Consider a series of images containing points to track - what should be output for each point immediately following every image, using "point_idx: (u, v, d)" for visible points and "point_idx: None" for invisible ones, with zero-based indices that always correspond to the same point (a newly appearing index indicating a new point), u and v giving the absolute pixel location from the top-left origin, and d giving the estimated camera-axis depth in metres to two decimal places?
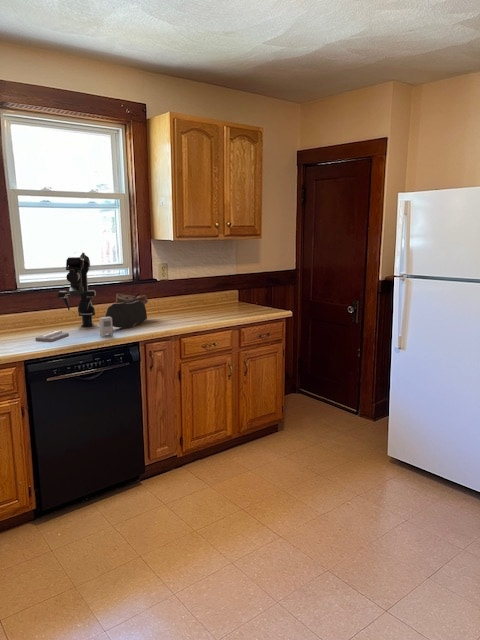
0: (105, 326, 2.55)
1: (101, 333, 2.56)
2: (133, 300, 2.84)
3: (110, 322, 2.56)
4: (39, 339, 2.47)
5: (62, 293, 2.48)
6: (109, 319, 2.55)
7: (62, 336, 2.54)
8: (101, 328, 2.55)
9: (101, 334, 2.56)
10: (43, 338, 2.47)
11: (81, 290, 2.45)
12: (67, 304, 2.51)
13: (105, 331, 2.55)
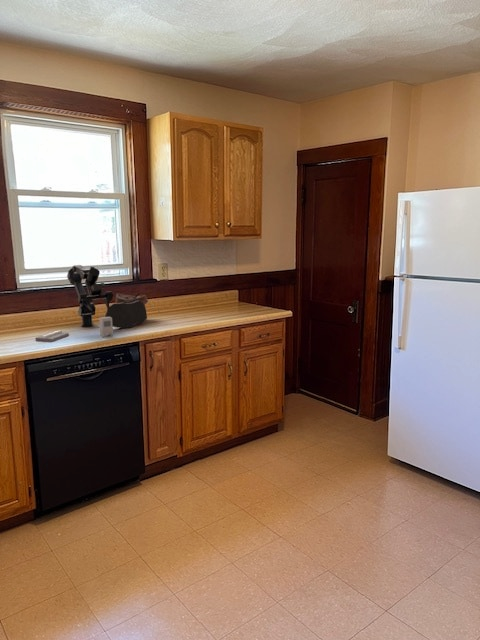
0: (105, 326, 2.55)
1: (101, 333, 2.56)
2: (133, 300, 2.84)
3: (110, 322, 2.56)
4: (39, 339, 2.47)
5: (84, 294, 2.59)
6: (109, 319, 2.55)
7: (62, 336, 2.54)
8: (101, 328, 2.55)
9: (101, 334, 2.56)
10: (43, 338, 2.47)
11: (103, 284, 2.63)
12: (90, 304, 2.59)
13: (105, 331, 2.55)
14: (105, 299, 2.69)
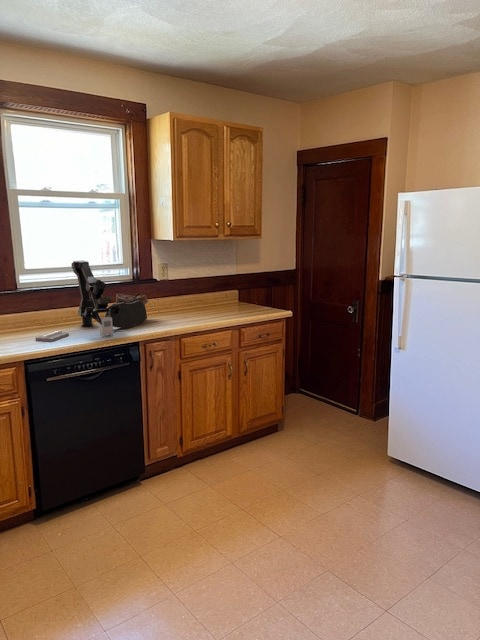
0: (105, 326, 2.55)
1: (101, 333, 2.56)
2: (133, 300, 2.84)
3: (110, 322, 2.56)
4: (39, 339, 2.47)
5: (90, 307, 2.54)
6: (109, 319, 2.55)
7: (62, 336, 2.54)
8: (101, 328, 2.55)
9: (101, 334, 2.56)
10: (43, 338, 2.47)
11: (110, 297, 2.57)
12: (99, 318, 2.54)
13: (105, 331, 2.55)
14: (109, 313, 2.62)
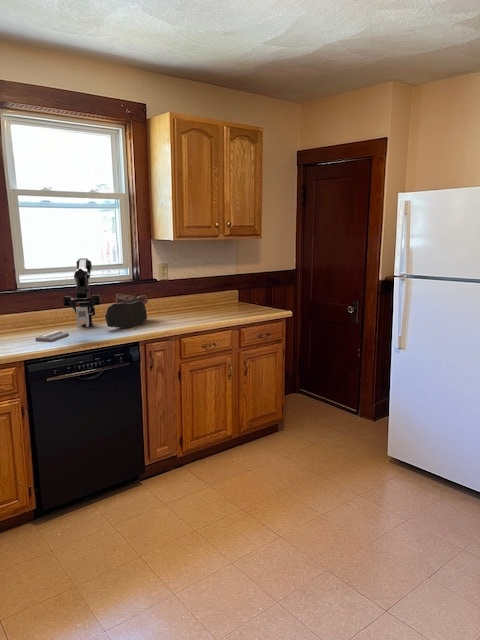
0: (80, 316, 2.49)
1: None
2: (133, 300, 2.84)
3: (85, 312, 2.49)
4: (39, 339, 2.47)
5: (68, 296, 2.50)
6: (84, 309, 2.48)
7: (62, 336, 2.54)
8: (77, 318, 2.50)
9: None
10: (43, 338, 2.47)
11: (87, 287, 2.50)
12: (75, 307, 2.49)
13: (80, 321, 2.49)
14: None
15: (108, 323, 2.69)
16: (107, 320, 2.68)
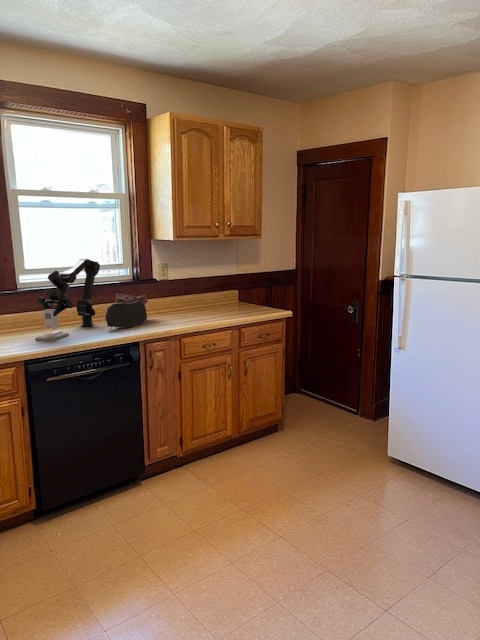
0: (46, 318, 2.50)
1: None
2: (133, 300, 2.84)
3: (50, 315, 2.48)
4: (39, 339, 2.47)
5: (42, 297, 2.54)
6: (50, 312, 2.48)
7: (62, 336, 2.54)
8: None
9: None
10: (43, 338, 2.47)
11: (56, 290, 2.49)
12: (44, 309, 2.51)
13: (46, 323, 2.50)
14: None
15: (108, 323, 2.69)
16: (107, 320, 2.68)
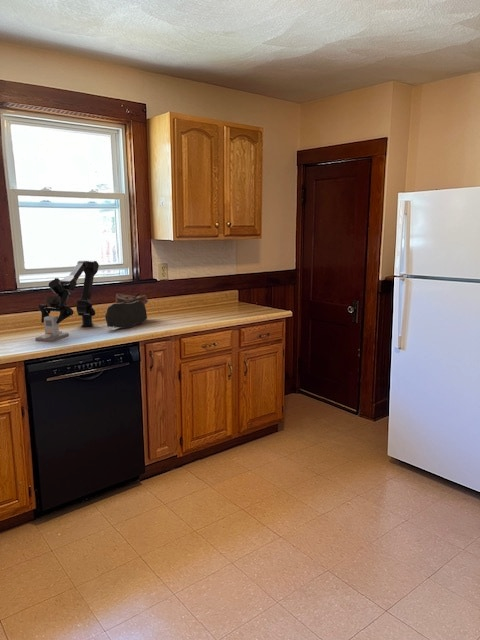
0: (47, 325, 2.50)
1: None
2: (133, 300, 2.84)
3: (51, 322, 2.49)
4: (39, 339, 2.47)
5: (43, 305, 2.55)
6: (50, 319, 2.49)
7: (62, 336, 2.54)
8: None
9: None
10: (43, 338, 2.47)
11: (56, 297, 2.49)
12: (42, 316, 2.53)
13: (47, 330, 2.51)
14: None
15: (108, 323, 2.69)
16: (107, 320, 2.68)
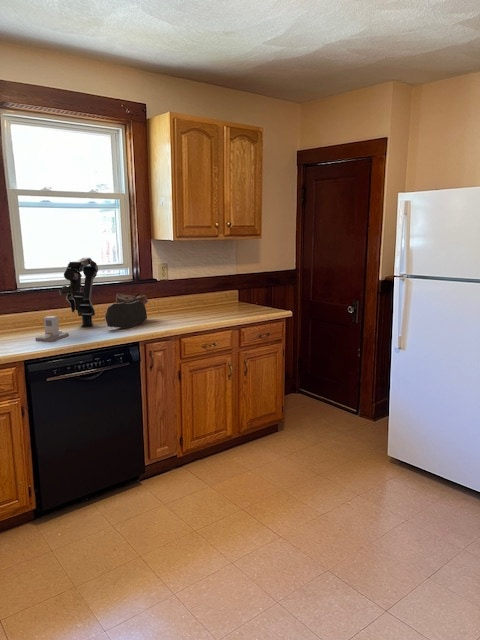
0: (47, 325, 2.50)
1: None
2: (133, 300, 2.84)
3: (51, 322, 2.49)
4: (39, 339, 2.47)
5: None
6: (50, 319, 2.49)
7: (62, 336, 2.54)
8: None
9: None
10: (43, 338, 2.47)
11: (62, 289, 2.56)
12: None
13: (47, 330, 2.51)
14: None
15: (108, 323, 2.69)
16: (107, 320, 2.68)
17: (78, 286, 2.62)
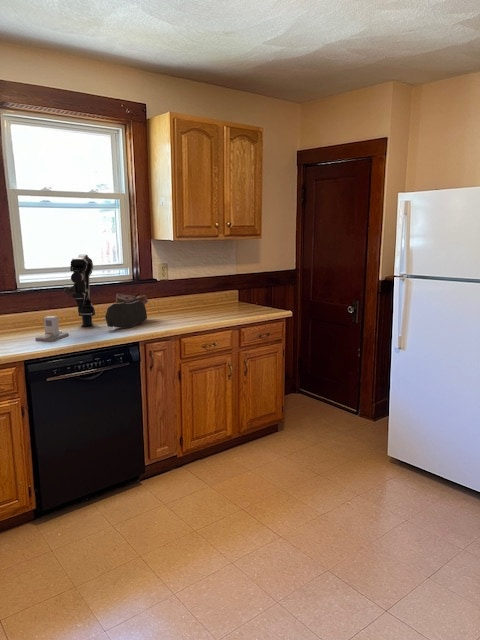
0: (47, 325, 2.50)
1: None
2: (133, 300, 2.84)
3: (51, 322, 2.49)
4: (39, 339, 2.47)
5: None
6: (50, 319, 2.49)
7: (62, 336, 2.54)
8: None
9: None
10: (43, 338, 2.47)
11: (65, 290, 2.59)
12: None
13: (47, 330, 2.51)
14: None
15: (108, 323, 2.69)
16: (107, 320, 2.68)
17: (81, 285, 2.61)
